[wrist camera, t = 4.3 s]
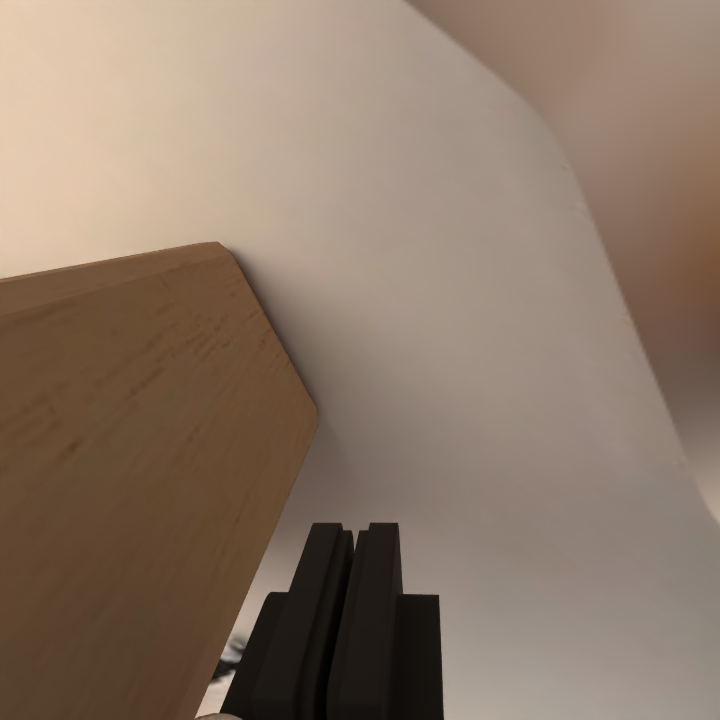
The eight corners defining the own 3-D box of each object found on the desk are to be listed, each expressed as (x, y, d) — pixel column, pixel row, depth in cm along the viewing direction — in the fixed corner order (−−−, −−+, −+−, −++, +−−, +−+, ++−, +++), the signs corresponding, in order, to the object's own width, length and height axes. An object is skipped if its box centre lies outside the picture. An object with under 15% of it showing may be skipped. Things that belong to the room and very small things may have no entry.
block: (55, 325, 26) (-904, 649, 7) (227, 231, 24) (-466, 331, 5) (163, 493, 28) (-355, 1094, 9) (329, 419, 26) (112, 993, 7)
